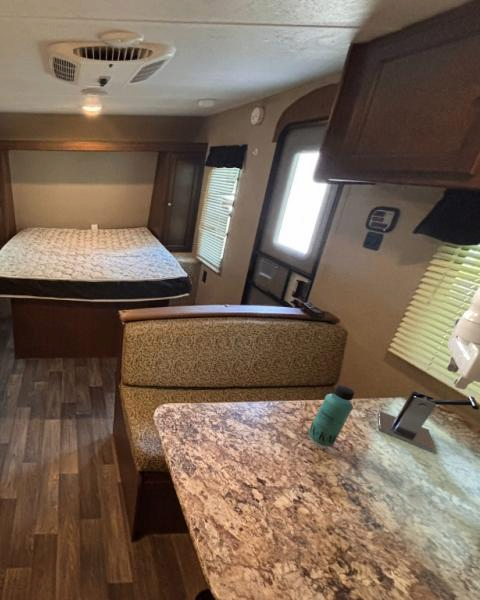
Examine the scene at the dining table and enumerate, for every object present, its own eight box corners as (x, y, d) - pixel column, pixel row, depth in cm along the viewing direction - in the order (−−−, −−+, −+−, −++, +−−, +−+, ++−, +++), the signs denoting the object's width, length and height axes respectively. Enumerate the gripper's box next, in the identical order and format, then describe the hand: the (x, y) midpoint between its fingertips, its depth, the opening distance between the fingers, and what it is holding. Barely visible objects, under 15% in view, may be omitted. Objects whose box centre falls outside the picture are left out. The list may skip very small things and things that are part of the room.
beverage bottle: (309, 429, 98) (334, 377, 90) (335, 443, 93) (363, 390, 85) (302, 440, 94) (327, 386, 86) (328, 455, 89) (357, 400, 81)
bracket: (427, 432, 99) (450, 398, 94) (431, 452, 92) (457, 416, 87) (377, 413, 106) (396, 380, 101) (378, 430, 99) (398, 396, 93)
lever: (475, 402, 89) (473, 394, 89) (480, 411, 85) (478, 403, 85) (414, 401, 97) (412, 393, 97) (416, 409, 94) (414, 402, 93)
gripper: (517, 354, 69) (483, 404, 74) (490, 323, 83) (463, 366, 89) (474, 344, 72) (445, 392, 78) (455, 315, 87) (431, 358, 92)
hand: (454, 378), depth 83 cm, fingers open, 8 cm apart
